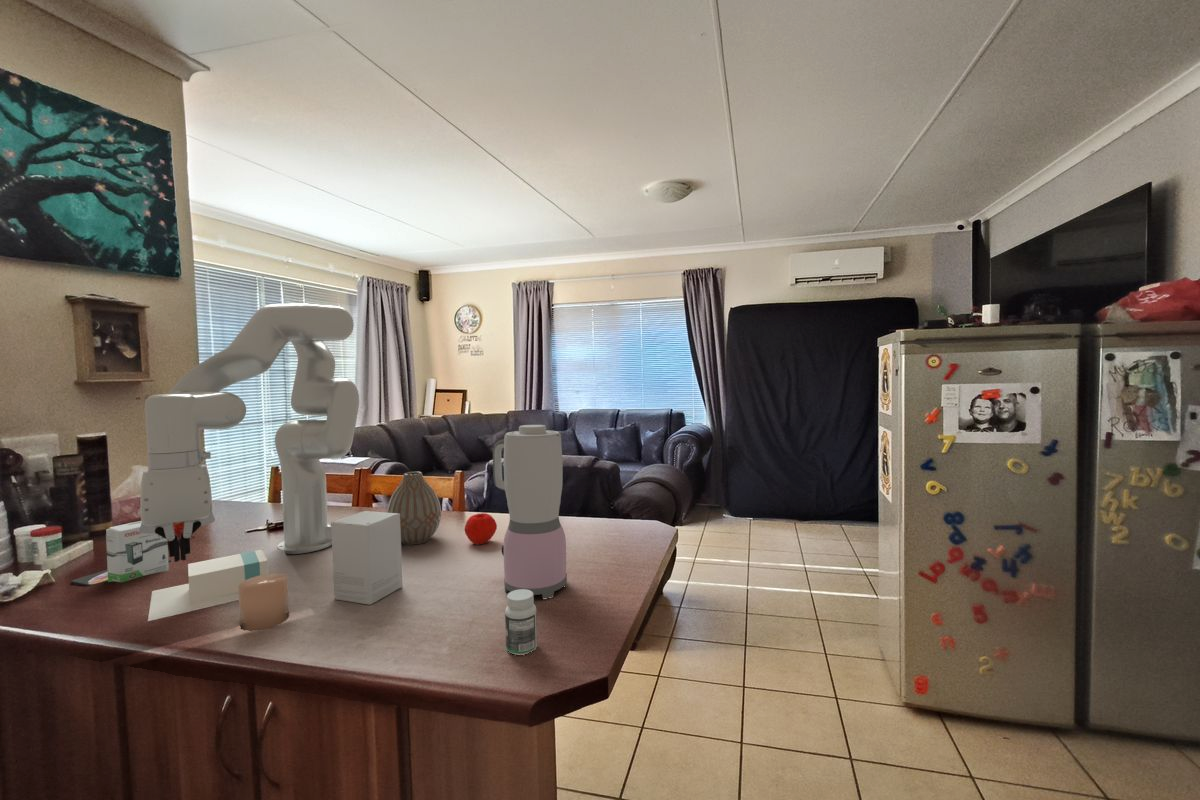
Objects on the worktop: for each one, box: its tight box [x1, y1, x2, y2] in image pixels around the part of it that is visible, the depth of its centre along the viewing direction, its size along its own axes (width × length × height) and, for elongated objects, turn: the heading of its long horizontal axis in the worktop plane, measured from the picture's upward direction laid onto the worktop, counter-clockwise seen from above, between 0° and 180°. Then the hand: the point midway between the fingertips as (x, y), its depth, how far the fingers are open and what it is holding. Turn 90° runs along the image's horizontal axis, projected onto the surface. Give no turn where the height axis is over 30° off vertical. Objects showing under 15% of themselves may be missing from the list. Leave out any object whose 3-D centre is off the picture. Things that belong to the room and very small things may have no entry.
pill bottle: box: [504, 589, 538, 654], centre depth 77 cm, size 5×5×8 cm
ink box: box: [105, 520, 170, 583], centre depth 107 cm, size 9×5×12 cm, turn 158°
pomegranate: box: [168, 522, 196, 544], centre depth 131 cm, size 7×7×10 cm
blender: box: [492, 424, 568, 598], centre depth 100 cm, size 16×12×32 cm
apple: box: [464, 512, 498, 545], centre depth 127 cm, size 8×8×7 cm
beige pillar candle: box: [238, 572, 290, 632], centre depth 87 cm, size 7×7×7 cm
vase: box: [386, 471, 442, 546], centre depth 129 cm, size 13×13×18 cm
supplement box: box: [330, 510, 403, 605], centre depth 98 cm, size 9×9×15 cm
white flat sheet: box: [147, 582, 239, 622], centre depth 97 cm, size 17×16×1 cm
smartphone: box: [70, 559, 172, 587], centre depth 111 cm, size 8×1×15 cm
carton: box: [187, 549, 269, 604], centre depth 99 cm, size 5×8×12 cm
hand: (180, 558), depth 94 cm, fingers closed
